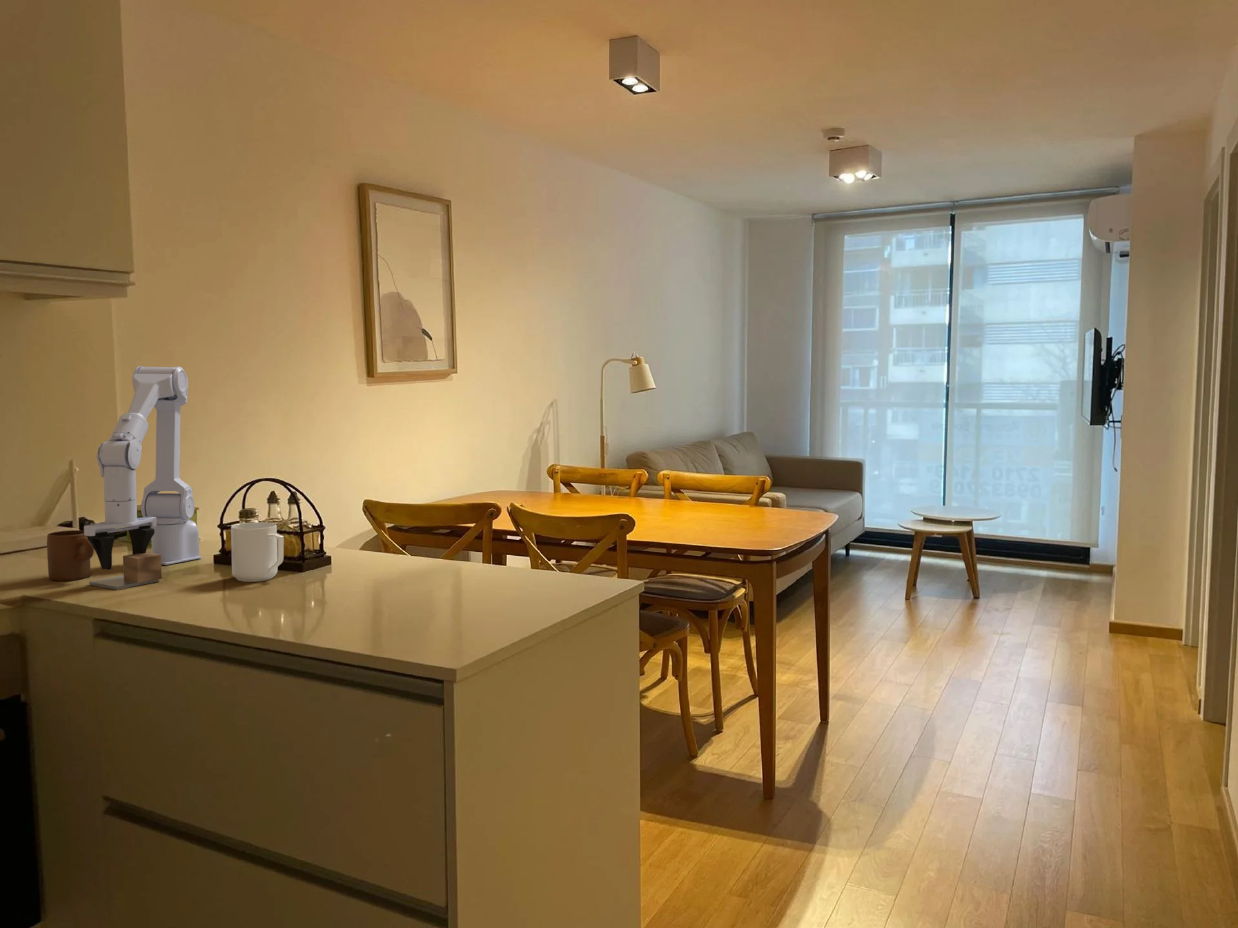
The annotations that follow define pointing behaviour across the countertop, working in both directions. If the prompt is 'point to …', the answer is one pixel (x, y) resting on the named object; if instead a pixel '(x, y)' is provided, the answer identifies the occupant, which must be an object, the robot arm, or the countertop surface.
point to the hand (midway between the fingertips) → (122, 566)
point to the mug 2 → (256, 551)
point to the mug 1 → (68, 555)
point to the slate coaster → (117, 583)
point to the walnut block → (142, 567)
